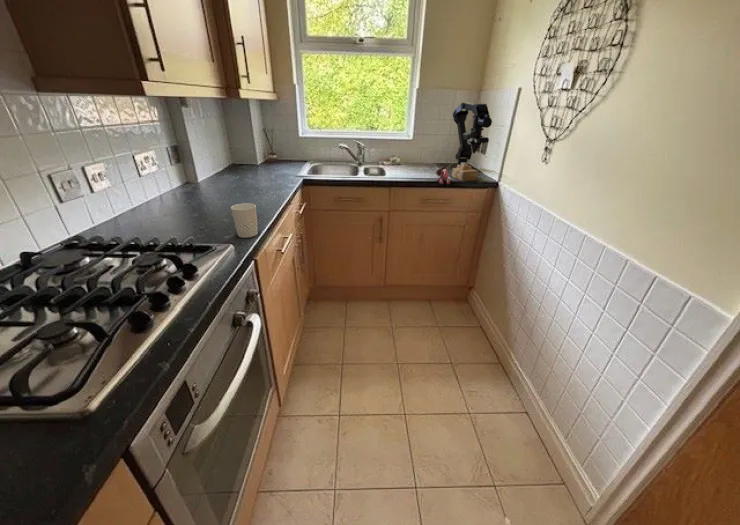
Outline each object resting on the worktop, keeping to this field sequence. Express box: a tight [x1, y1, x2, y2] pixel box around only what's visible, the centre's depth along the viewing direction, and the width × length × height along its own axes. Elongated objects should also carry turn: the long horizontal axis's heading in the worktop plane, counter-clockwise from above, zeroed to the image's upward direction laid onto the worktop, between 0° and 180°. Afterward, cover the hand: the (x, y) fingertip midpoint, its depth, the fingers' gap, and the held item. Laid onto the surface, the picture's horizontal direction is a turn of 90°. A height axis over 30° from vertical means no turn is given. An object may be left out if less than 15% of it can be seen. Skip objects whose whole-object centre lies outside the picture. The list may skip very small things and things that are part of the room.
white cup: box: [230, 202, 259, 239], centre depth 113 cm, size 8×8×10 cm
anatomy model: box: [434, 161, 454, 185], centre depth 186 cm, size 10×14×15 cm
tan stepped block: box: [451, 164, 479, 182], centre depth 196 cm, size 12×10×7 cm
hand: (473, 153), depth 208 cm, fingers closed
